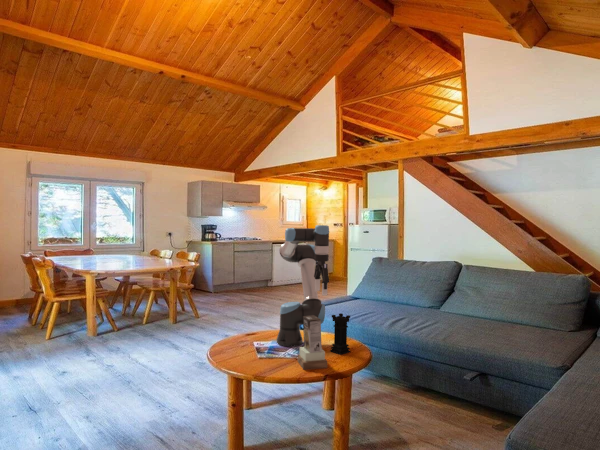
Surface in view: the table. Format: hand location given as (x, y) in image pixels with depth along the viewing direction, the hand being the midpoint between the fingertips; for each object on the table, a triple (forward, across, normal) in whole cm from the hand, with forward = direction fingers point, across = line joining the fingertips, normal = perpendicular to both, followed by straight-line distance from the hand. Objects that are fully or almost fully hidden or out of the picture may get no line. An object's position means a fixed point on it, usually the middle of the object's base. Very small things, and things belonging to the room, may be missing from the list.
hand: (320, 293), depth 220 cm
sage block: (+29, +15, -8) cm, 34 cm away
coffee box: (+25, +16, -8) cm, 31 cm away
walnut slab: (+33, +16, -9) cm, 38 cm away
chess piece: (+33, -1, +12) cm, 35 cm away
